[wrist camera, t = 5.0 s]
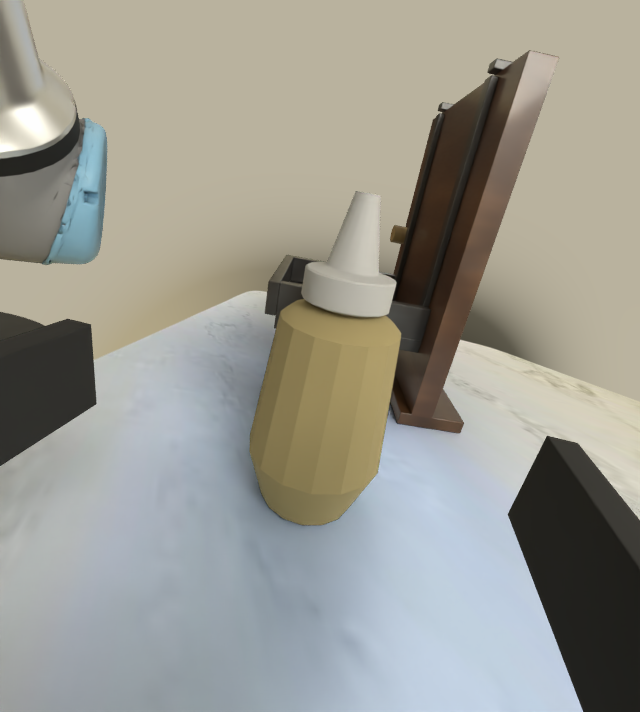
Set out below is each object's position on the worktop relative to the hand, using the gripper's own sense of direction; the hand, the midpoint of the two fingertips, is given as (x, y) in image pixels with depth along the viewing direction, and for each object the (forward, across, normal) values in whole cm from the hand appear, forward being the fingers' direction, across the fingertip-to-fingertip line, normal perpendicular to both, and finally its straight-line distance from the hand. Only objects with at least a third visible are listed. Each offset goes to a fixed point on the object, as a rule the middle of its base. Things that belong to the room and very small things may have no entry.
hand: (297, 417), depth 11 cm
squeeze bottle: (+10, 0, -12) cm, 15 cm away
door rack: (+31, 0, -12) cm, 33 cm away
